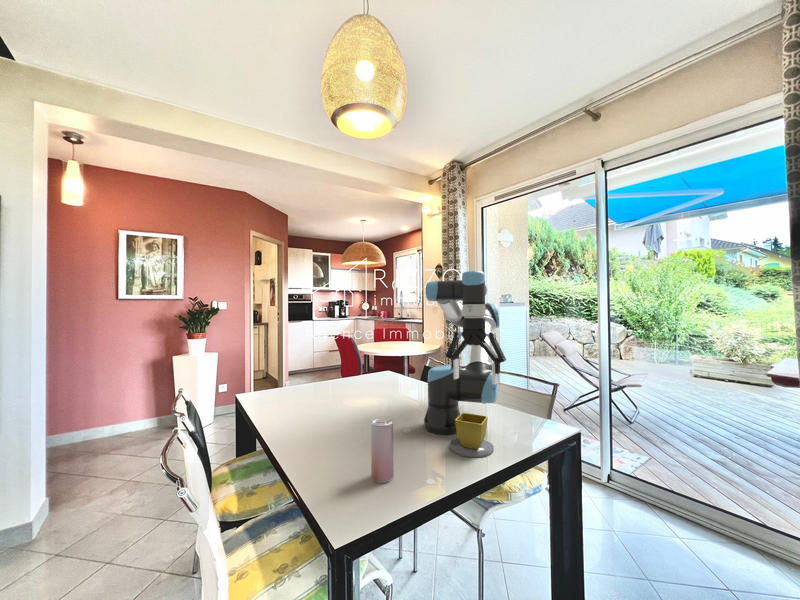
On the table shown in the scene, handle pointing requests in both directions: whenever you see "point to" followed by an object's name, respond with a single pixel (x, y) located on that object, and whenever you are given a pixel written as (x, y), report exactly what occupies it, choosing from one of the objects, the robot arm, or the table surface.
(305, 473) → the table surface
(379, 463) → the beverage can
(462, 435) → the flower pot
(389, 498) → the table surface
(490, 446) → the disc
